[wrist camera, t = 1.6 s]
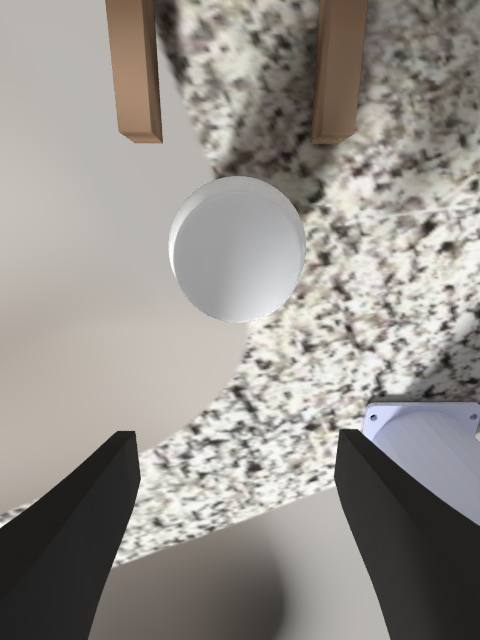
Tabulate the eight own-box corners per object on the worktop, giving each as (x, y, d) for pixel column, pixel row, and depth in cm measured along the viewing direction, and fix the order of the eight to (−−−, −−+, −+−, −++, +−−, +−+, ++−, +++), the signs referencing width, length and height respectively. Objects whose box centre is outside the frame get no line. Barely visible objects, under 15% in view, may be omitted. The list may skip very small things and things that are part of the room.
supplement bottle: (300, 245, 19) (362, 274, 10) (230, 301, 20) (227, 374, 11) (243, 168, 18) (253, 117, 8) (172, 232, 19) (110, 248, 9)
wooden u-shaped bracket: (338, 144, 17) (354, 133, 15) (134, 143, 17) (118, 131, 15) (358, -92, 14) (383, -153, 12) (113, -97, 14) (89, -159, 12)
